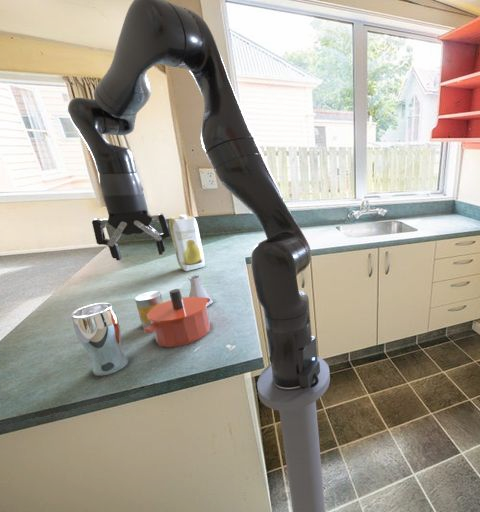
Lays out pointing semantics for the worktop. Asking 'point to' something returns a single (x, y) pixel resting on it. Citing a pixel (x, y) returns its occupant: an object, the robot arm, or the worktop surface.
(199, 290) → the flask
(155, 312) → the lid
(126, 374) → the worktop surface
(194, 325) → the pot
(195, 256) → the juice carton
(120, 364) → the silver metal cup
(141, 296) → the can
